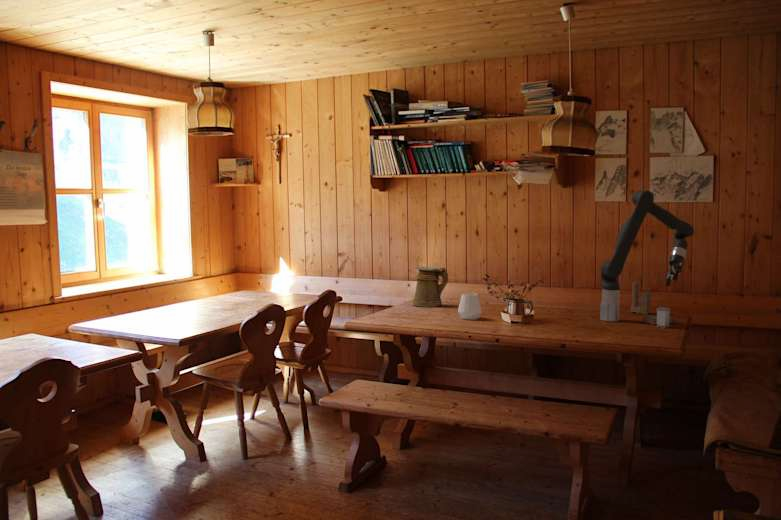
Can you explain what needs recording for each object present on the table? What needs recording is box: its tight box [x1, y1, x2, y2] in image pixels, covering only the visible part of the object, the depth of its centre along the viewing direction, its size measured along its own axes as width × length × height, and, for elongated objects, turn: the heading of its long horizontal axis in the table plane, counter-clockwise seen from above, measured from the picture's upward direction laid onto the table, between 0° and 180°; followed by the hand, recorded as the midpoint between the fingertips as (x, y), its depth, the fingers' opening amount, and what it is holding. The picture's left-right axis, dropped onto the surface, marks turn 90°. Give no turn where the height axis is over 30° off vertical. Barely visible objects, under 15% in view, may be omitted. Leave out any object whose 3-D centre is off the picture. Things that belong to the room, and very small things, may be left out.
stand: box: [642, 315, 676, 325], centre depth 367 cm, size 14×9×3 cm, turn 109°
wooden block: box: [630, 281, 652, 315], centre depth 400 cm, size 4×11×18 cm, turn 40°
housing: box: [655, 306, 671, 329], centre depth 354 cm, size 5×5×10 cm
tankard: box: [412, 266, 449, 308], centre depth 435 cm, size 18×24×25 cm
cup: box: [457, 292, 482, 321], centre depth 385 cm, size 13×13×14 cm
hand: (670, 283), depth 366 cm, fingers open, 8 cm apart
